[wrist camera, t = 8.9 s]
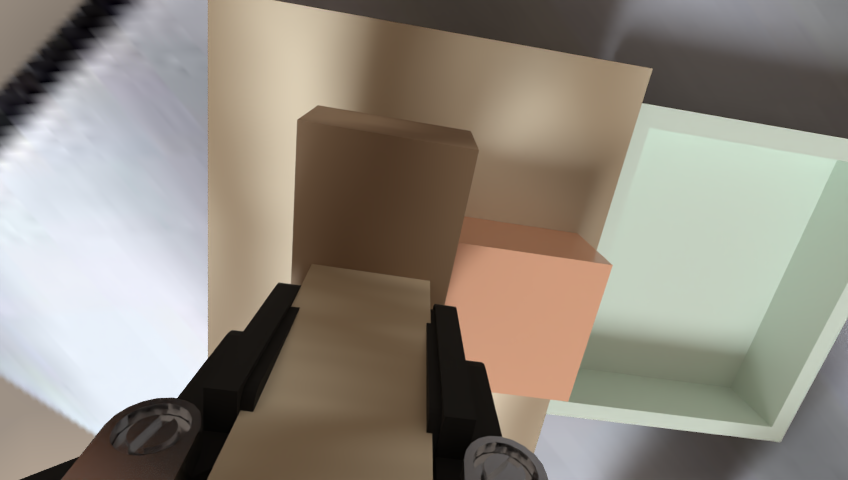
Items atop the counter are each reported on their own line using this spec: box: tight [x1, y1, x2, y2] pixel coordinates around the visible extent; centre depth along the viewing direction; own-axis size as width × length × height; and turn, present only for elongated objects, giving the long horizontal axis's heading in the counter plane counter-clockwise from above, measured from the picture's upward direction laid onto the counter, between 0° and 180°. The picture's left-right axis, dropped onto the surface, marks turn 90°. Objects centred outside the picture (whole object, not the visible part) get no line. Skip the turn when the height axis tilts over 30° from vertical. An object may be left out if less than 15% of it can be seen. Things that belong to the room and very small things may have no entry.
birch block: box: [208, 0, 653, 453], centre depth 18 cm, size 14×16×5 cm
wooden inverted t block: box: [207, 105, 479, 480], centre depth 9 cm, size 4×10×11 cm, turn 171°
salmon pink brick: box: [445, 216, 613, 402], centre depth 15 cm, size 5×5×3 cm
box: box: [546, 103, 848, 442], centre depth 20 cm, size 12×14×4 cm
